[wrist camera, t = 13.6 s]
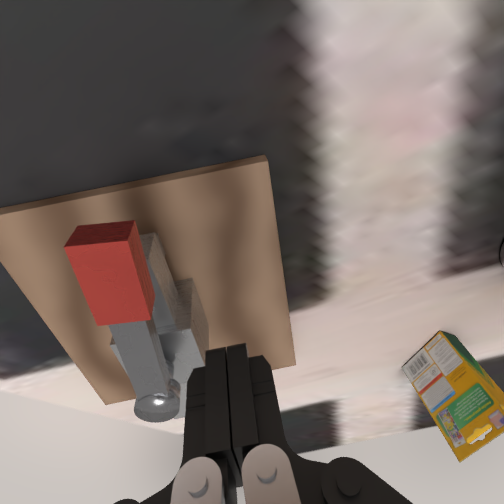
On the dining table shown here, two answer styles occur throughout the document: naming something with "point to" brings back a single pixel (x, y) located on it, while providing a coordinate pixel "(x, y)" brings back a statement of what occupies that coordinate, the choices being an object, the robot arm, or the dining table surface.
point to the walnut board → (177, 257)
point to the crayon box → (457, 394)
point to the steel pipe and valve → (175, 317)
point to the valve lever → (126, 310)
